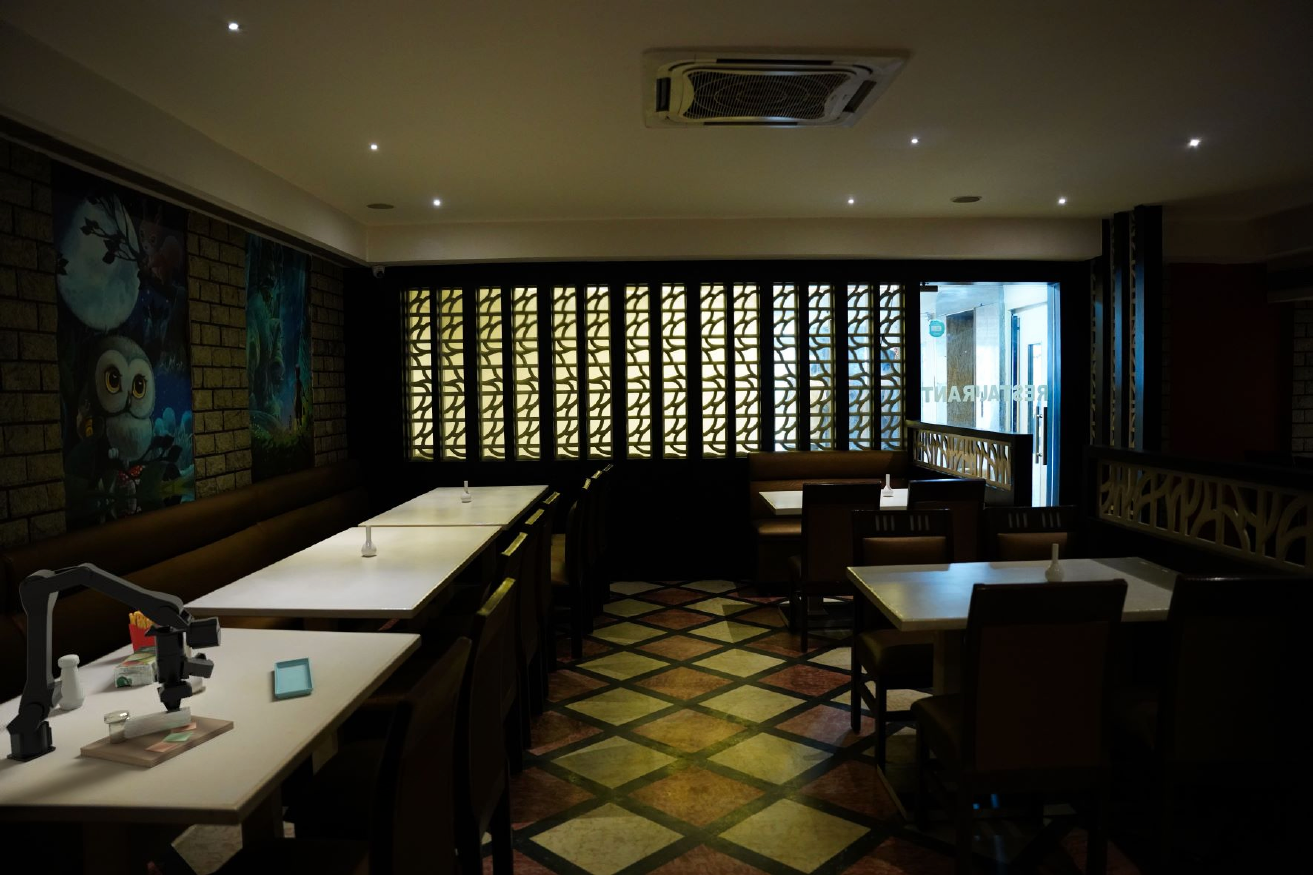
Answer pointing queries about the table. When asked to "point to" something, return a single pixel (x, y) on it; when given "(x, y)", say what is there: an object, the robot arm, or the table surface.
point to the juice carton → (137, 668)
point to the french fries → (140, 631)
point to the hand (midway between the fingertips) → (175, 718)
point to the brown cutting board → (158, 743)
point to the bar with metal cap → (144, 723)
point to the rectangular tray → (293, 678)
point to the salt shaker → (70, 683)
